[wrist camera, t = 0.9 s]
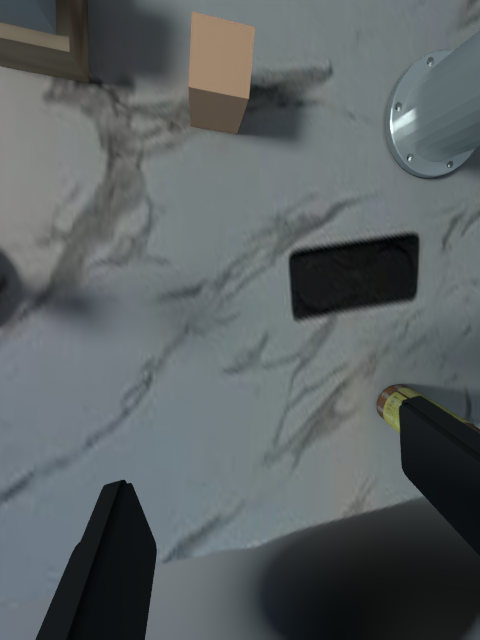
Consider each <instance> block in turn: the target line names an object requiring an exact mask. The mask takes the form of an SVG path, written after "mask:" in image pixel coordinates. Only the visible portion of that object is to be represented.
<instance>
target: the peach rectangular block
mask: <svg viewBox="0 0 480 640" xmlns="http://www.w3.org/2000/svg"><path fill="white" fill-rule="evenodd" d="M254 35H255V27H253V26H249V25H245V24H241V23H237V22H233V21H228V20H224V19H220V18H216V17H212V16H208V15H204V14H200V13H196V12H192V21H191V44H190V67H189V105H190V125H191V126H193V127H198V128H204V129H210V130H215V131H221V132H227V133H233V134H237V133H238V130H239V127H240V124H241V121H242V118H243V115H244V112H245V109H246V106H247V103H248V100H249V92H250V81H251V69H252V58H253V47H254Z"/></svg>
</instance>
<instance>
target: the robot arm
mask: <svg viewBox="0 0 480 640" xmlns="http://www.w3.org/2000/svg"><path fill="white" fill-rule="evenodd" d="M386 135H387V141H388V144H389V147H390V150H391V153H392V154H393V156H394V158H395V160H396V161H397V162H398V164H399V165H400V166H401V167H402V168H403V169H405V170H406V171H407V172H409V173H410V174H413V175H415V176H418V177H423V178H430V177H437V176H440V175H444V174H446V173H449V172H451V171H453V170H455V169H456V168H458V167H459V166H461V165H462V164H463V163H464V162H465V161H466V160H467V159H468V158H469V157H470V155H471V154H472V153H473V151H474V150H475V148H478V147H480V31H479V32H477V33H476V34H475V35H473V36H472V37H471V38H470V39H468V40H467V41H466V42H465V43H463V44H462V45H461V46H460V47H458V48H457V49H456V50H454V51H451V50H440V51H436V52H432V53H429V54H428V55H426V56H424V57H422V58H420V59H419V60H418V61H417V62H416V63H414V64H413V65H412V66H411V67H410V68H409V69H408V70H407V71H406V72H405V73H404V74H403V75H402V76H401V78H400V79H399V81H398V82H397V84H396V86H395V88H394V90H393V92H392V94H391V97H390V100H389V103H388V106H387V113H386ZM399 425H400V444H401V462H402V469H403V471H404V473H405V475H406V476H407V478H408V479H409V480H410V481H411V482H412V483H413V484H414V485H415V486H416V487H417V489H418V490H419V491H420V492H421V493H422V494H423V495H424V496H425V497H426V498H427V499H428V500H429V501H430V503H431V504H432V505H433V506H434V507H435V508H436V509H437V510H438V511H439V512H440V514H441V515H442V516H443V517H444V518H445V519H446V520H447V521H448V522H449V523H450V524H451V525H452V527H454V529H455V530H456V531H457V532H458V533H459V534H460V535H461V536H462V537H463V538H464V539H465V541H466V542H467V543H468V544H469V545H470V546H471V547H472V548H473V549H474V550H475V551H476V552H477V554H478V555H479V556H480V433H478V432H477V431H475V430H474V429H472V428H471V427H469V426H468V425H466V424H464V423H463V422H461V421H460V420H458V419H457V418H455V417H454V416H452V415H451V414H449V413H447V412H446V411H444V410H443V409H441V408H440V407H438V406H437V405H435V404H434V403H432V402H430V401H429V400H427V399H426V398H424V397H422V396H415V397H412V398H408V399H405V400H403V401H402V404H401V405H400V406H399ZM156 555H157V549H156V542H155V540H154V537H153V535H152V532H151V530H150V527H149V525H148V522H147V520H146V517H145V515H144V512H143V510H142V507H141V505H140V502H139V500H138V497H137V495H136V492H135V490H134V487H133V485H132V484H131V483H128V484H127V483H126V481H125V480H120V481H117V482H113V483H110V484H106V485H105V486H104V487H103V488H102V490H101V493H100V495H99V498H98V500H97V503H96V505H95V508H94V510H93V512H92V515H91V517H90V520H89V522H88V525H87V527H86V530H85V532H84V534H83V537H82V539H81V542H79V543H78V544H77V546H76V547H75V549H74V550H73V552H72V554H71V557H70V559H69V562H68V564H67V566H66V569H65V571H64V573H63V576H62V578H61V581H60V583H59V585H58V588H57V590H56V592H55V595H54V597H53V599H52V602H51V604H50V607H49V609H48V612H47V614H46V616H45V618H44V621H43V623H42V626H41V628H40V630H39V633H38V635H37V637H36V640H145V634H146V627H147V620H148V613H149V605H150V598H151V591H152V584H153V577H154V570H155V563H156Z"/></svg>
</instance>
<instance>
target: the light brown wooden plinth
mask: <svg viewBox="0 0 480 640" xmlns="http://www.w3.org/2000/svg"><path fill="white" fill-rule="evenodd" d="M55 1H56V31H57V35H54V34H49V33H45V32H41V31H36V30H32V29H28V28H24V27H19V26H15V25H11V24H6V23H2V22H0V66H3V67H8V68H13V69H18V70H23V71H29V72H34V73H39V74H44V75H49V76H55V77H60V78H65V79H70V80H75V81H80V82H86V83H89V50H88V10H87V0H55Z"/></svg>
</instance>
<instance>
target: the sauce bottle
mask: <svg viewBox="0 0 480 640" xmlns="http://www.w3.org/2000/svg"><path fill="white" fill-rule="evenodd" d="M415 396H422V397H424V398H426V399H427V400H429V401H430V402H432V403H434V404H435V405H437V406H438V407H440V408H441V409H443V410H444V411H446V412H447V413H449V414H451V415H452V416H454V417H455V418H457V419H458V420H460V421H461V422H463V423H464V424H466V425H468V426H469V427H471V428H472V429H474V430H475V431H477V432H478V433H480V429H479V428H477V427H476V426H475V425H473V424H472V423H470V422H468V421H467V420H465V419H463V418H461V417H460V416H458V415H456V414H455V413H453V412H451V411H449V410H448V409H446V408H444V407H442V406H441V405H439V404H437V403H436V402H434V401H432V400H430V399H429V398H427V397H425V396H423V395H422V394H420V393H418V392H416V391H415V390H413V389H410V388H408V387H406V386H404V385H395V386H391V387H388V388H387V389H385V390H384V391H383V392H382V394H381V395H380V396H379V398H378V401H377V410H378V413H379V415H380V416H381V417H382V418H383V419H384V420H385V421H386V422H387V424H389V425H390V426H391V427H392V428H394V429H395V430H396V431H397V432H398V433H400V425H399V406H400V405H401V404H402V401H403V400H405V399H408V398H412V397H415Z"/></svg>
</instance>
